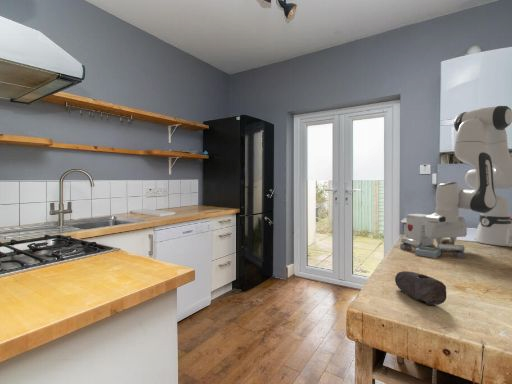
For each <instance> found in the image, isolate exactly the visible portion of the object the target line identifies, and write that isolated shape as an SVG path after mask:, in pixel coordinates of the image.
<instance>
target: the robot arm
mask: <svg viewBox="0 0 512 384" xmlns="http://www.w3.org/2000/svg"><path fill="white" fill-rule="evenodd" d="M511 123H512V109H511V107H509V106H508V105H497V106H491V107H489V106H488V107H481V108H478V109H475V110H474V109H473V110H470V111H464V112H461V113H459V114H458V115H456V116H455V119H454V121H453V127H454V130H455V131H456V132H457V133H456V136H455V140H454V142H455V143H454V148H453V150H454V157H456V158H457V160H458V161H460V162H461V163H465V164H467V165H470V166H472V167H473V169H469V170H468V171H467V172H466V173H465V175H464V181H465V184H466V185H467V186H468V187H469V189H467V188H464V187H461V186H460V185H459V184H458V182H456V181H444V182H441V183H439V184H438V185H437V186H436V191H435V203H436V205H435V206H436V207H435V209H434V212H433V213H431V214H427V215H428V216H426V221H427V222H426V225H425V235H426V237H427V238H432V239H434V240H435V241H436V243H437V245H438V244H442V242H441V240H442V238H443V239H451V241H454V244H455V243H456V241H457V238H464V237H466V236H467V235H468V228H467V223H466V219H465V218H464V217H463V216H460V215H459V213H460V211H459V210H463V211H467V212H468V211H469V212H470V211H471V212H476V213H480V214H479V216H478V217H479V218H478V220H479V224H478V225H477V229H476V237H474V240H475V242H477V243H481V244H486V245H491V246H500V247H501V246H503V247H510V248H511V247H512V216H510V201H509V199H507V198H506V197H503V196H501V195H498V193H496V190H497V189H498V190H512V157H511V154H510V151H509V145H508V135H507V129H506V128H508V127H509V126H510V125H511ZM470 188H471V189H470Z"/></svg>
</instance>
